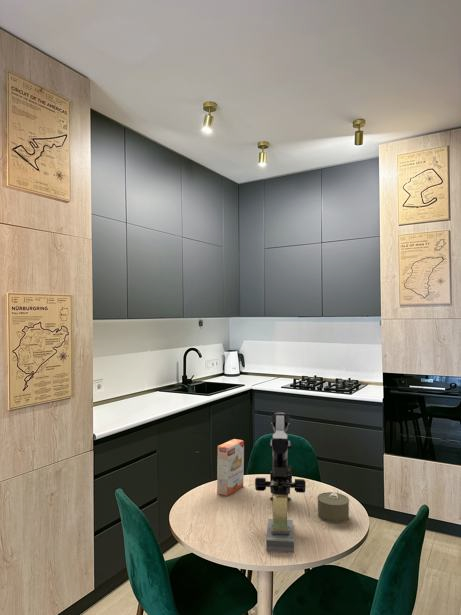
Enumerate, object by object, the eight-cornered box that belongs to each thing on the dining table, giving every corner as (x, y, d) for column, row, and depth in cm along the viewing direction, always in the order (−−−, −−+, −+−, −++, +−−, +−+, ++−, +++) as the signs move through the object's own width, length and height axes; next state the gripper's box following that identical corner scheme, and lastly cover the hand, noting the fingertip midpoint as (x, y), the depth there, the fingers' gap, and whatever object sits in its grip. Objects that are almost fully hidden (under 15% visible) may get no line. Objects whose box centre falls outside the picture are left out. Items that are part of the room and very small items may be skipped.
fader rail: (268, 522, 163) (268, 513, 163) (292, 523, 162) (292, 514, 162) (266, 551, 143) (266, 540, 143) (294, 552, 142) (293, 541, 142)
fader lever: (271, 526, 156) (271, 493, 156) (288, 527, 155) (288, 493, 156) (271, 533, 151) (271, 498, 151) (288, 534, 150) (288, 499, 151)
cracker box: (228, 496, 187) (228, 447, 188) (216, 493, 190) (216, 445, 191) (244, 486, 199) (244, 440, 199) (233, 483, 202) (233, 438, 203)
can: (315, 520, 165) (315, 502, 165) (319, 507, 176) (319, 490, 176) (348, 525, 161) (348, 506, 161) (350, 511, 172) (349, 494, 173)
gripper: (255, 456, 165) (253, 497, 154) (305, 457, 163) (307, 499, 152) (256, 469, 173) (254, 510, 161) (304, 471, 170) (306, 512, 159)
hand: (280, 508), depth 158 cm, fingers closed
